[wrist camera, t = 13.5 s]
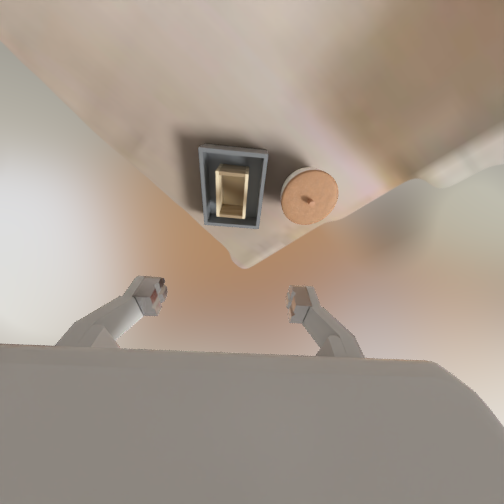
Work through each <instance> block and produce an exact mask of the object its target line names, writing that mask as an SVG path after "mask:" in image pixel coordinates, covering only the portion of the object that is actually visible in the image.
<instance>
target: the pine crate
mask: <svg viewBox="0 0 504 504" xmlns="http://www.w3.org/2000/svg"><path fill="white" fill-rule="evenodd" d="M215 173H216V215H217V217H227V218H238V219H245V214H246V202H247V190H248V178H249V167H247V166H238V165H228V164H220V165H219V166H218V168H217V169H216V171H215Z"/></svg>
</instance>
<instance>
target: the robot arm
mask: <svg viewBox="0 0 504 504" xmlns="http://www.w3.org/2000/svg"><path fill="white" fill-rule="evenodd" d="M164 283H165V280H164V278H161V277H149V276H137V277H136V278H135V279H134V280H133V282H132V283H131V285H130V286H129V287H128V289H127V290H126V292H125V293H124V295H123V296H119V297H118V298H116V299H114V300H112V301H111V302H109V303H107V304H106V305H104V306H102V307H100V308H99V309H97V310H95V311H93V312H92V313H90V314H88V315H87V316H85V317H83V318H82V319H80V320H78V321H76V322H75V323H74V324H73V325H72V326H71V327H70V328H69V330H68V331H67V332H66V333H65V334H64V335H63V337H62V338H61V339H60V340H59V341H58V342H57V344H56V345H55V346H45V345H19V344H0V504H504V427H503V425H502V424H501V423H500V421H499V420H498V419H497V418H496V416H495V415H494V414H493V412H492V411H491V410H490V408H489V407H488V406H487V405H486V403H485V402H484V401H483V400H482V399H481V398H480V397H479V396H478V394H477V393H476V392H474V391H473V390H472V389H471V388H470V387H468V386H467V385H466V384H465V383H463V382H462V381H461V380H459V379H458V378H457V377H455V376H454V375H452V374H451V373H450V372H448V371H447V370H446V369H444V368H443V367H441V366H440V365H438V364H437V363H434V362H432V361H425V360H400V359H375V358H364V355H363V353H362V351H361V349H360V347H359V345H358V342H357V340H356V338H355V336H354V335H353V334H352V333H351V332H350V331H349V330H348V329H346V328H345V327H344V326H343V325H342V324H341V323H340V322H339V321H338V320H337V319H336V318H334V317H333V316H332V315H331V314H330V313H329V312H328V311H327V310H326V309H325V308H324V307H321V306H320V303H319V300H318V297H317V294H316V292H315V289H314V287H312V286H294V285H290V287H289V293H287V296H286V307H287V308H288V309H289V311H288V318H289V322H290V323H301V324H302V325H303V326H304V327H305V329H306V330H307V331H308V332H309V334H310V335H311V336H312V338H313V339H314V340H315V342H316V343H317V344H318V346H319V347H320V350H319V351H318V353H317V354H316V356H298V355H273V354H247V353H223V352H197V351H170V350H146V349H144V350H143V349H121V348H120V346H119V345H118V344H117V343H116V340H117V339H118V338H119V337H120V336H121V335H123V334H124V333H125V332H126V331H127V330H128V329H129V328H131V326H133V325H134V324H135V323H136V322H138V321H139V320H140V319H141V318H142V317H143V316H158V314H159V312H160V310H161V308H162V306H161V303H162V302H164V301H165V299H166V296H167V287H166V286H165V285H164Z"/></svg>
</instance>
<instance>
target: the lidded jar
mask: <svg viewBox="0 0 504 504" xmlns="http://www.w3.org/2000/svg"><path fill="white" fill-rule="evenodd" d="M337 199H338V186H337V184H336V181H335V180H334V179H333V177H331V176H330V175H329V174H328V173H326V172H324V171H322V170H320V169H317V168H313V167H306V168H301V169H298V170H296V171H295V172H293V173H292V174H291V175H289V176H288V178H287V179H286V180H285V182H284V184H283V186H282V190H281V205H282V210H283V212H284V214H285V216H286V217H287V218H288V219H289V220H291V221H292V222H294V223H297V224H301V225H308V224H313V223H316V222H318V221H320V220H322V219H323V218H325V217H326V216H327V215H328V214H329V213H330V212H331V211H332V210H333V208H334V207H335V204H336V202H337Z"/></svg>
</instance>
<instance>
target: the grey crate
mask: <svg viewBox="0 0 504 504" xmlns="http://www.w3.org/2000/svg"><path fill="white" fill-rule="evenodd" d="M198 151H199V163H200V175H201V188H202V200H203V213H204V225H214V226H227V227H239V228H252V229H259V223H260V215H261V208H262V200H263V192H264V185H265V177H266V169H267V162H268V152H267V150H263V149H253V148H243V147H234V146H224V145H214V144H205V143H204V144H203V145H201V146H199V147H198ZM220 164H228V165H238V166H247V167H249V178H248V190H247V202H246V214H245V219H238V218H227V217H217V215H216V173H215V171H216V169H217V168H218V166H219V165H220Z"/></svg>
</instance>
